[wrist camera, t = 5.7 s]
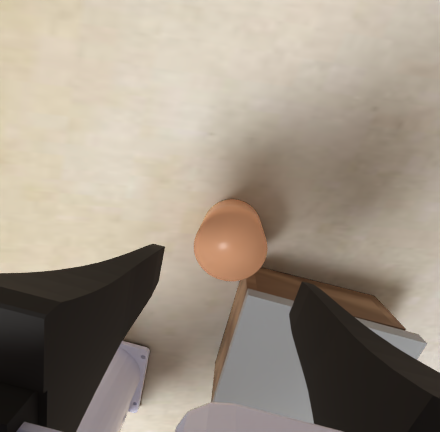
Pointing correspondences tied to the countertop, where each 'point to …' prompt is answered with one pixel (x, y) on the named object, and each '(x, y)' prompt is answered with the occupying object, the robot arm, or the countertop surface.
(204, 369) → the countertop surface
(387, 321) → the box
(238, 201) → the tan rounded cylinder
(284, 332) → the lid
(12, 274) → the robot arm
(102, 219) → the countertop surface
